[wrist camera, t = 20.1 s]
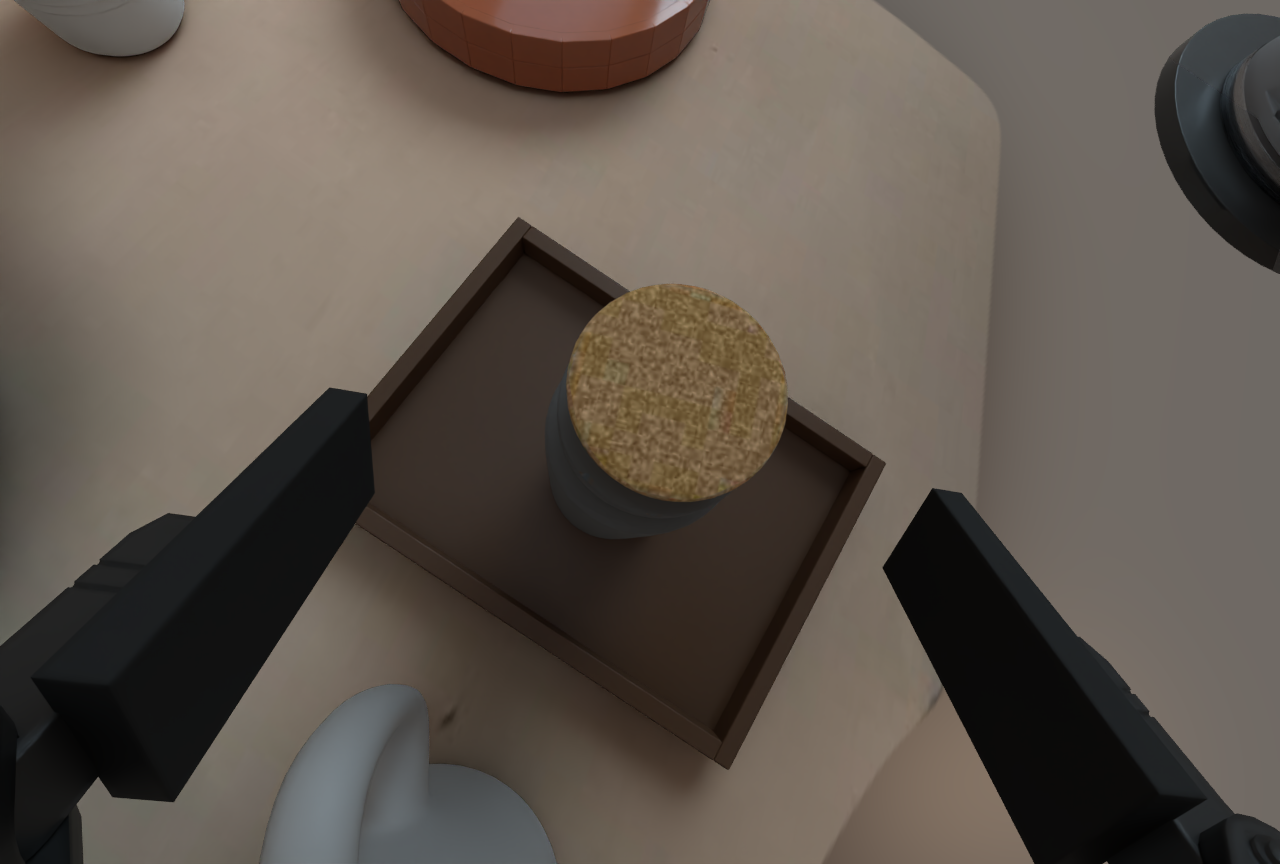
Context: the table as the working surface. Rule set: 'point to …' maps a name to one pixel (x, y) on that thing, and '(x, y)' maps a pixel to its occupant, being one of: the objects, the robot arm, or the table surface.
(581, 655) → the tray
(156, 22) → the cup
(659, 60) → the terracotta bowl
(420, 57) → the table surface
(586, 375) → the bottle
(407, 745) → the mug
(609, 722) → the table surface
